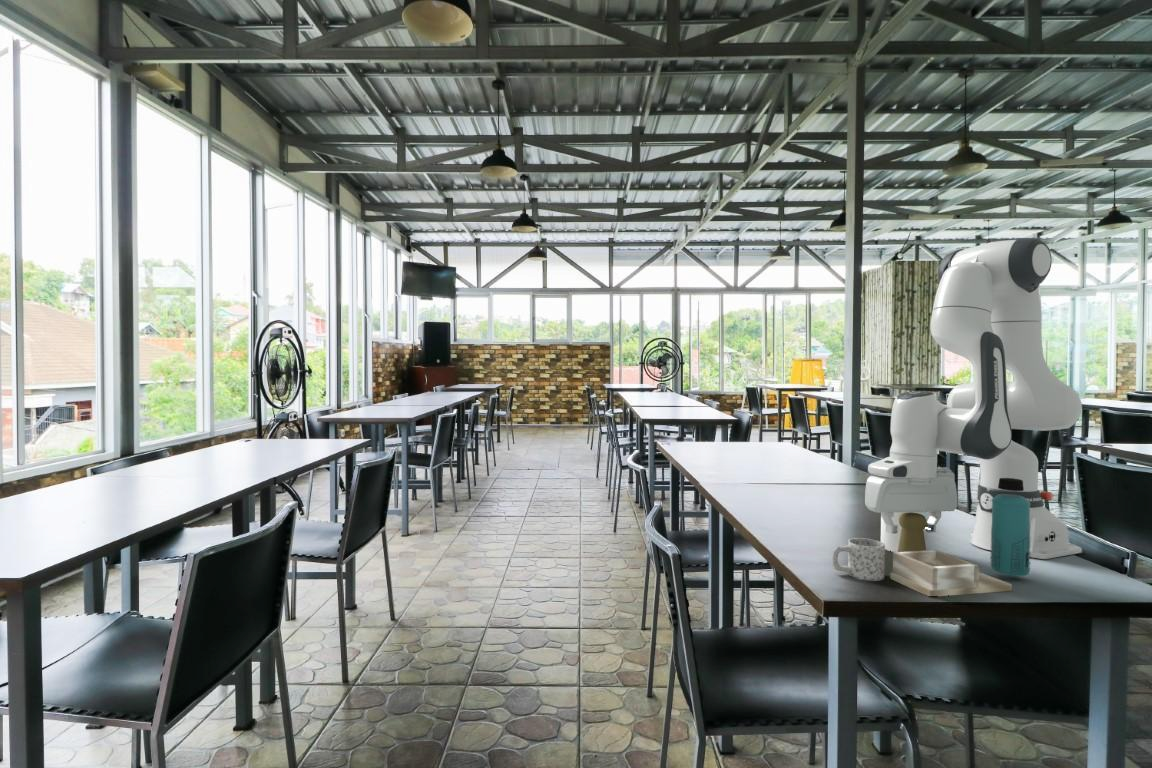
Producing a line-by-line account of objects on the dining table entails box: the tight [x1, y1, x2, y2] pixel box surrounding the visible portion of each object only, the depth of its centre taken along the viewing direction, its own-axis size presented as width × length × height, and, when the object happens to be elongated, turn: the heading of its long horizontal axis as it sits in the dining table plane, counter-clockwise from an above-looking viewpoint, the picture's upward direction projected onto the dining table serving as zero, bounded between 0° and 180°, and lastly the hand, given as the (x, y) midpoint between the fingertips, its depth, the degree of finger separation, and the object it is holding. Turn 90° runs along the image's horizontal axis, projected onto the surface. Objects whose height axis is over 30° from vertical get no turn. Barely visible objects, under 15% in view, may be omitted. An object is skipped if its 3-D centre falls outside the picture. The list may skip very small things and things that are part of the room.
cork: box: [898, 512, 928, 552], centre depth 129 cm, size 6×6×11 cm
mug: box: [832, 537, 886, 582], centre depth 122 cm, size 10×7×7 cm
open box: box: [889, 549, 1013, 597], centre depth 117 cm, size 18×10×5 cm, turn 102°
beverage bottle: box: [989, 478, 1031, 577], centre depth 121 cm, size 6×7×20 cm
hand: (910, 532), depth 129 cm, fingers open, 8 cm apart
